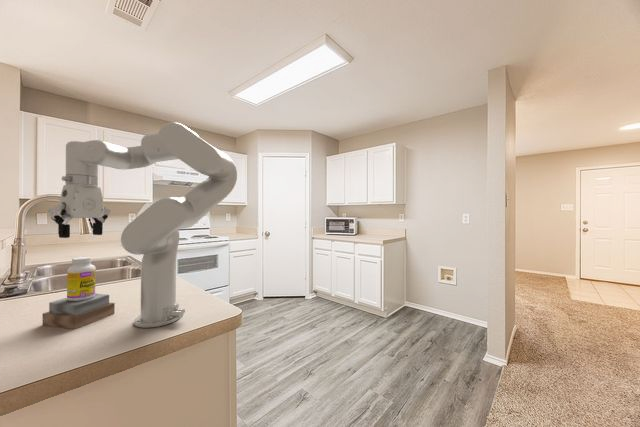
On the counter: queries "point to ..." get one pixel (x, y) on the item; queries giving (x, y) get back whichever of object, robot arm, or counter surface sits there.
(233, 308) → the counter surface
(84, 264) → the supplement bottle
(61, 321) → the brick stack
